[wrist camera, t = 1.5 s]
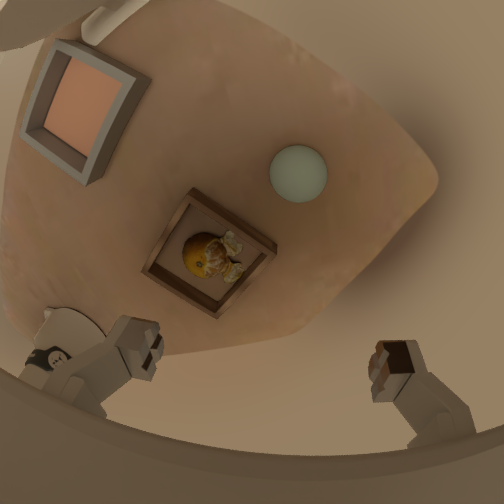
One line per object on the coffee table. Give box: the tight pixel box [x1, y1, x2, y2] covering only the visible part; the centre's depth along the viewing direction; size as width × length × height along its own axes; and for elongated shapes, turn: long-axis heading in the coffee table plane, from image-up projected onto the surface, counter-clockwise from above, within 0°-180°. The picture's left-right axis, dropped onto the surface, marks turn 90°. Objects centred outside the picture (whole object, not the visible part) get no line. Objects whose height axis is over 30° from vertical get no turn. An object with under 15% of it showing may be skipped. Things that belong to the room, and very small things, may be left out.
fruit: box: [182, 230, 244, 283], centre depth 37 cm, size 8×8×4 cm
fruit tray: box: [141, 187, 277, 319], centre depth 37 cm, size 14×13×2 cm
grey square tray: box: [19, 39, 151, 187], centre depth 27 cm, size 14×14×4 cm
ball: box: [269, 145, 328, 203], centre depth 29 cm, size 6×6×6 cm
